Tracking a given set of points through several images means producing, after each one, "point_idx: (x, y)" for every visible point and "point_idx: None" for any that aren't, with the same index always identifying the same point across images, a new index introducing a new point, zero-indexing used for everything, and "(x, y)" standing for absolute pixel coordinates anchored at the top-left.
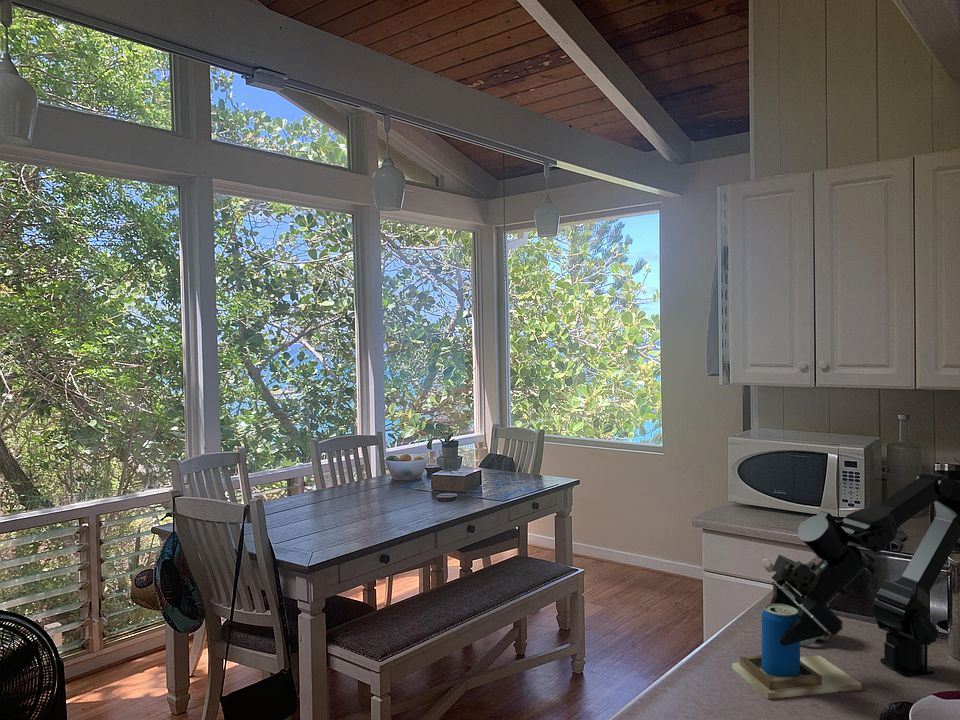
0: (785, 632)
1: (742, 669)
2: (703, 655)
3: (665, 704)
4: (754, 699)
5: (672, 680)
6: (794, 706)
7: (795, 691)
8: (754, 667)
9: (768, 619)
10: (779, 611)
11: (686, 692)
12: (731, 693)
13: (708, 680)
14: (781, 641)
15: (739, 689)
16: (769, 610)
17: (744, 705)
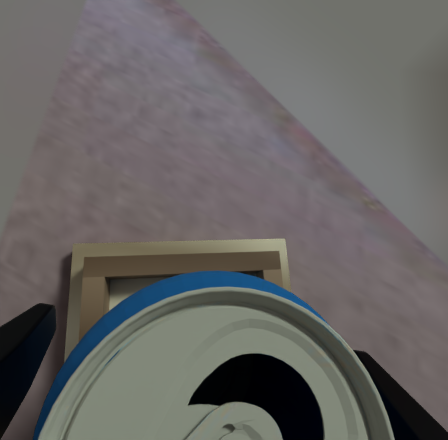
0: (6, 353)
1: (240, 248)
2: (363, 203)
3: (119, 8)
4: (87, 210)
5: (230, 70)
6: (11, 306)
7: (65, 348)
8: (196, 259)
9: (161, 281)
10: (188, 433)
11: (165, 71)
12: (136, 168)
13: (218, 147)
14: (30, 310)
15: (153, 199)
16: (250, 338)
17: (63, 167)
